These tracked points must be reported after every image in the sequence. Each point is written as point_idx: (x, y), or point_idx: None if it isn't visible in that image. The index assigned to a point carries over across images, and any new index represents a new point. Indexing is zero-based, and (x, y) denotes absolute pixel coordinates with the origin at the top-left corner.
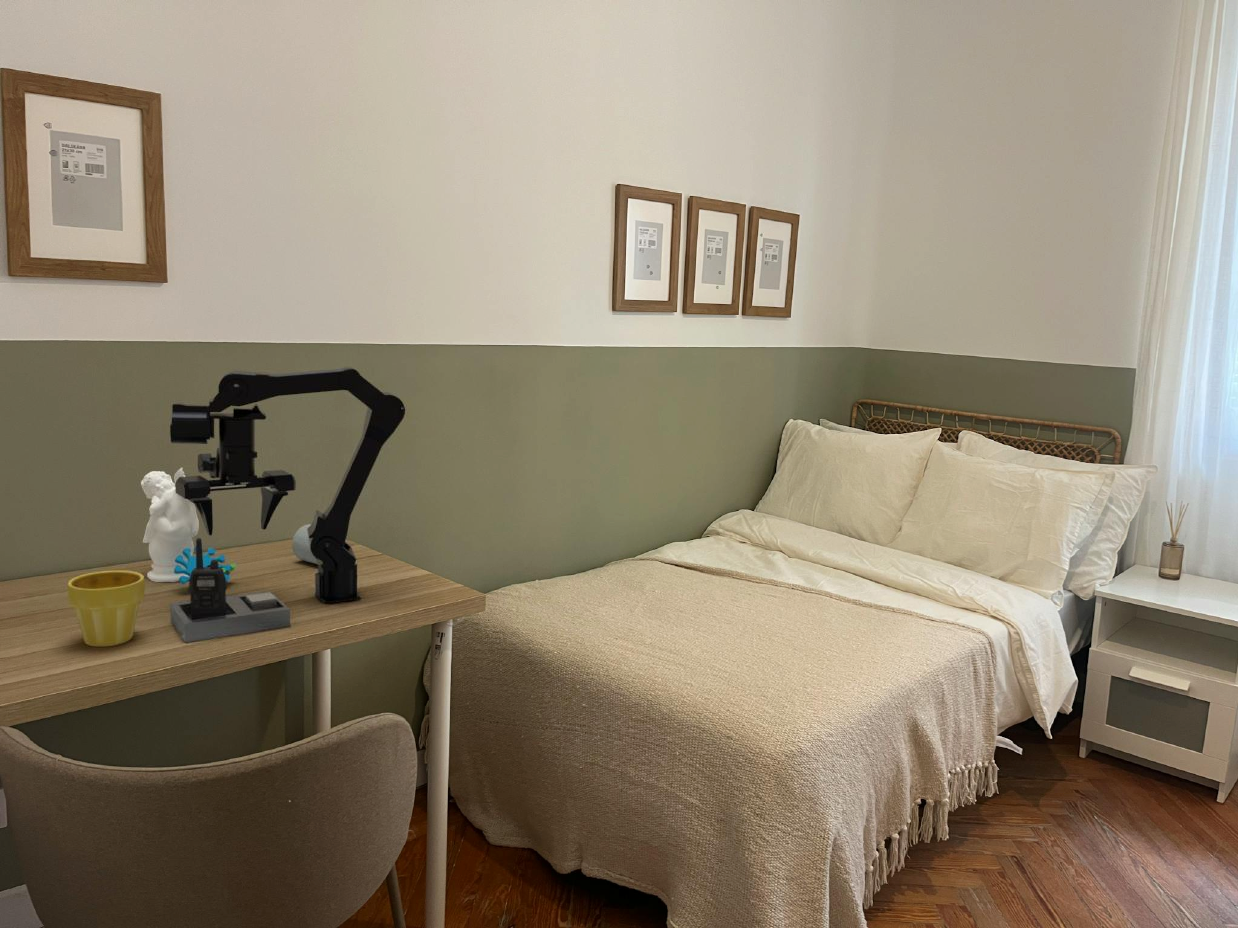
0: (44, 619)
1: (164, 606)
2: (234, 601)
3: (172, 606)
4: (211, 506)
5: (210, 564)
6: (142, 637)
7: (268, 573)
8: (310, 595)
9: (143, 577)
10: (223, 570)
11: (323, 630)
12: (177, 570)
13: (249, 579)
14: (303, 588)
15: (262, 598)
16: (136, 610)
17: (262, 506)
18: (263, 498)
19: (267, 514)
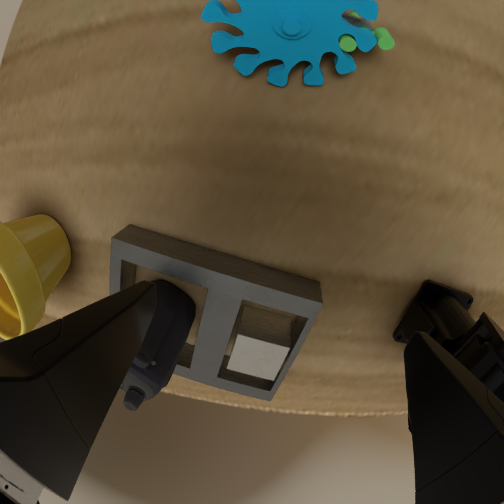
0: (15, 89)
1: (154, 118)
2: (218, 317)
3: (110, 259)
4: (78, 465)
5: (125, 395)
6: (81, 269)
7: (465, 57)
8: (421, 271)
9: (23, 326)
10: (348, 46)
11: (294, 409)
12: (207, 19)
13: (415, 57)
14: (448, 219)
15: (253, 366)
16: (48, 297)
17: (466, 414)
18: (486, 454)
19: (412, 435)
